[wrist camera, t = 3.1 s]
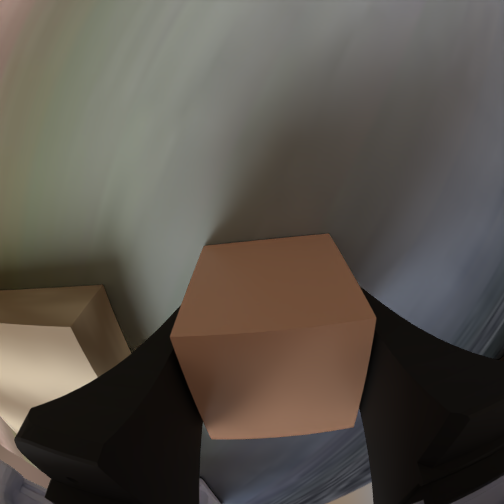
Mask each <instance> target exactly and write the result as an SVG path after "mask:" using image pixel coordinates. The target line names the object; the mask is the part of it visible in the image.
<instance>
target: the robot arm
mask: <svg viewBox="0 0 504 504" xmlns="http://www.w3.org/2000/svg"><path fill="white" fill-rule="evenodd" d="M360 288H361V287H360ZM361 290H362V292H363V294H364V295H365V297H366V299H367V301H368V303H369V305H370V307H371V308H372V310H373V312H374V314H375V316H376V324H375V330H374V337H373V343H372V348H371V354H370V359H369V364H368V369H367V374H366V379H365V383H364V388H363V392H362V396H361V401H360V405H359V409H360V412H361V417H362V422H363V427H364V432H365V437H366V443H367V449H368V455H369V462H370V470H371V478H372V488H373V502H374V504H504V361H500V360H495V359H492V358H488V357H485V356H482V355H478V354H475V353H472V352H469V351H467V350H464V349H461V348H459V347H457V346H454V345H452V344H449V343H447V342H445V341H443V340H441V339H438V338H436V337H435V336H433V335H431V334H429V333H427V332H425V331H423V330H421V329H420V328H418V327H416V326H415V325H413V324H411V323H410V322H408V321H407V320H405V319H404V318H402V317H401V316H399V315H398V314H396V313H395V312H393V311H392V310H390V309H389V308H388V307H386V306H385V305H384V304H382V303H381V302H380V301H378V300H377V299H376V298H374V297H373V296H372V295H370V294H369V293H368V292H367V291H365V290H364V289H363V288H361ZM180 307H181V306H180ZM180 307H179V308H178V309H177V310H176V311H175V312H174V313H173V314H172V315H171V316H170V317H169V318H168V319H167V320H166V322H165V323H164V324H163V325H162V326H161V327H160V328H159V329H158V330H157V331H156V332H155V333H154V334H153V335H151V336H150V337H149V338H148V339H147V340H146V341H145V342H144V343H143V344H142V345H141V346H140V347H139V348H137V349H136V350H135V351H134V352H133V353H132V354H130V355H129V356H128V357H127V358H125V359H124V360H123V361H121V362H120V363H119V364H117V365H116V366H115V367H113V368H112V369H110V370H109V371H107V372H105V373H104V374H102V375H101V376H99V377H98V378H96V379H94V380H93V381H91V382H89V383H88V384H86V385H84V386H82V387H80V388H78V389H76V390H74V391H72V392H70V393H68V394H66V395H64V396H62V397H59V398H57V399H54V400H52V401H49V402H46V403H44V404H41V405H38V406H35V407H32V408H31V409H30V411H29V412H28V414H27V416H26V418H25V420H24V422H23V423H22V425H21V427H20V429H19V431H18V433H17V435H16V437H15V439H14V441H15V443H16V446H17V448H18V449H19V450H20V452H21V453H22V454H23V455H24V456H25V457H26V458H27V459H28V460H30V461H31V462H32V463H33V464H34V465H35V466H36V467H38V468H39V469H40V470H41V471H42V472H44V473H45V474H46V475H47V476H49V477H50V478H51V481H50V483H49V486H48V489H46V488H44V487H42V486H40V485H37V484H35V483H33V482H31V481H29V480H27V479H25V478H23V476H22V475H21V474H20V473H18V472H17V471H16V470H15V469H13V468H12V467H11V466H9V465H8V464H6V463H4V462H3V461H1V460H0V504H221V503H220V502H219V500H218V499H217V498H216V497H215V495H214V494H213V493H212V491H211V490H210V489H209V487H208V486H207V485H206V483H205V482H204V481H203V480H202V479H201V478H199V471H200V448H201V434H202V424H203V420H202V418H201V415H200V413H199V411H198V408H197V406H196V404H195V401H194V399H193V396H192V394H191V392H190V389H189V387H188V384H187V382H186V379H185V377H184V374H183V371H182V369H181V366H180V364H179V361H178V358H177V356H176V353H175V350H174V347H173V345H172V342H171V339H170V335H171V332H172V329H173V326H174V324H175V321H176V318H177V315H178V312H179V310H180Z"/></svg>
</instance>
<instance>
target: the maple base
mask: <svg viewBox="0 0 504 504" xmlns="http://www.w3.org/2000/svg"><path fill="white" fill-rule="evenodd" d="M130 354H131V352H130V349H129V347H128V345H127V343H126V341H125V338H124V336H123V334H122V331H121V329H120V327H119V324H118V322H117V320H116V317H115V315H114V312H113V310H112V307H111V305H110V302H109V299H108V297H107V294H106V291H105V289H104V286H103V285H89V286H73V287H57V288H39V289H20V290H0V416H1V417H2V419H3V420H4V421H5V422H6V423H7V424H8V425H9V426H10V427H11V428H12V430H13V431H14V432H15V433H16V434H17V433H18V431H19V429H20V427H21V425H22V423H23V422H24V420H25V418H26V416H27V414H28V412H29V411H30V409H31V408H32V407H35V406H38V405H41V404H44V403H46V402H49V401H52V400H54V399H57V398H59V397H62V396H64V395H66V394H68V393H70V392H72V391H74V390H76V389H78V388H80V387H82V386H84V385H86V384H88V383H89V382H91V381H93V380H94V379H96V378H98V377H99V376H101V375H102V374H104V373H105V372H107V371H109V370H110V369H112V368H113V367H115V366H116V365H117V364H119V363H120V362H121V361H123V360H124V359H125V358H127V357H128V356H129V355H130Z"/></svg>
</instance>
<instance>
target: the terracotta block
mask: <svg viewBox="0 0 504 504" xmlns="http://www.w3.org/2000/svg"><path fill="white" fill-rule="evenodd" d="M375 324H376V316H375V314H374V312H373V310H372V308H371V307H370V305H369V303H368V301H367V299H366V297H365V295H364V294H363V292H362V290H361V288H360V286H359V285H358V283H357V281H356V279H355V277H354V276H353V274H352V272H351V270H350V269H349V267H348V265H347V263H346V262H345V260H344V258H343V256H342V255H341V253H340V251H339V250H338V248H337V246H336V245H335V243H334V241H333V239H332V238H331V236H330V234H329V233H328V234H317V235H307V236H296V237H286V238H276V239H266V240H256V241H246V242H236V243H226V244H217V245H207V246H204V247H203V249H202V252H201V254H200V257H199V259H198V262H197V264H196V267H195V270H194V272H193V275H192V278H191V280H190V283H189V285H188V288H187V291H186V293H185V296H184V299H183V302H182V304H181V307H180V310H179V312H178V315H177V318H176V321H175V324H174V326H173V329H172V332H171V335H170V339H171V342H172V345H173V347H174V350H175V353H176V356H177V358H178V361H179V364H180V366H181V369H182V371H183V374H184V377H185V379H186V382H187V384H188V387H189V389H190V392H191V394H192V396H193V399H194V401H195V404H196V406H197V408H198V411H199V413H200V415H201V418H202V420H203V422H204V424H205V427H206V429H207V431H208V433H209V435H210V437H211V439H258V438H274V437H286V436H297V435H306V434H314V433H321V432H328V431H334V430H340V429H346V428H352V427H354V424H355V420H356V417H357V413H358V409H359V405H360V401H361V396H362V392H363V388H364V383H365V379H366V374H367V369H368V364H369V359H370V354H371V348H372V343H373V337H374V330H375Z"/></svg>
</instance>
